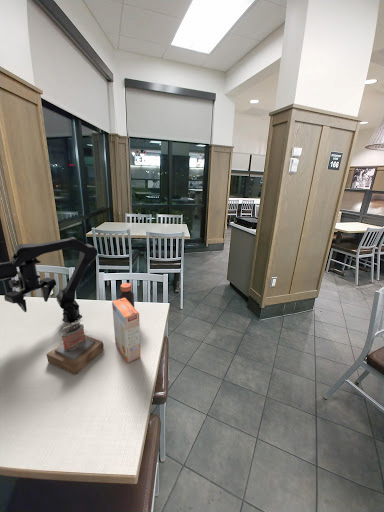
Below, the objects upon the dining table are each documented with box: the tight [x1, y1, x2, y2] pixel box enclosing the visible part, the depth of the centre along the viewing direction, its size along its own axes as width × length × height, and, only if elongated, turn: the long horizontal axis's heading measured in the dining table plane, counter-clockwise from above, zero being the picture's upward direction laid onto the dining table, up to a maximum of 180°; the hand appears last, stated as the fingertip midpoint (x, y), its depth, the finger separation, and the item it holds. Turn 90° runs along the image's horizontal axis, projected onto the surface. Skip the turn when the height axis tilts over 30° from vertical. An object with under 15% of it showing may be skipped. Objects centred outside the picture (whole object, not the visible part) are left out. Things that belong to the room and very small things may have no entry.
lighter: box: [60, 320, 86, 352], centre depth 85 cm, size 8×3×10 cm, turn 143°
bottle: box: [118, 282, 135, 308], centre depth 108 cm, size 7×7×20 cm
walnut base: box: [46, 334, 105, 376], centre depth 88 cm, size 14×14×5 cm
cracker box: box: [111, 298, 141, 364], centre depth 89 cm, size 14×6×21 cm, turn 37°
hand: (36, 306), depth 98 cm, fingers open, 9 cm apart
